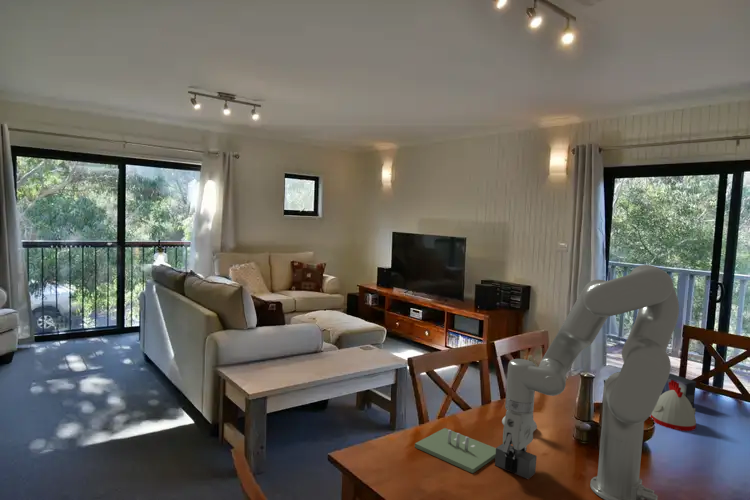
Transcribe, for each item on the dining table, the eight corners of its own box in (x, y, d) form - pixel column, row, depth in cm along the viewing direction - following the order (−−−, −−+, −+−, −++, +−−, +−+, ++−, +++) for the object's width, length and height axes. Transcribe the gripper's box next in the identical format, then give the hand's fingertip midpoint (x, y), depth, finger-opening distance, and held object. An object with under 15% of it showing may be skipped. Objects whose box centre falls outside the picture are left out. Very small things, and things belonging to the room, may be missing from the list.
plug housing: (535, 473, 131) (536, 455, 131) (528, 479, 128) (529, 461, 127) (502, 459, 138) (503, 443, 137) (494, 465, 134) (495, 448, 134)
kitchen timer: (682, 416, 178) (686, 377, 177) (704, 432, 164) (708, 390, 163) (643, 413, 179) (647, 374, 178) (662, 429, 165) (665, 387, 164)
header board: (500, 454, 141) (501, 437, 141) (472, 473, 129) (474, 455, 129) (444, 431, 154) (445, 416, 154) (414, 447, 143) (415, 430, 142)
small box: (658, 399, 195) (660, 374, 194) (668, 397, 198) (670, 373, 197) (684, 409, 185) (686, 383, 185) (694, 407, 188) (697, 381, 187)
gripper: (518, 417, 123) (513, 484, 124) (544, 400, 135) (540, 462, 136) (492, 408, 128) (488, 473, 129) (520, 393, 140) (515, 452, 141)
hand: (514, 467), depth 133 cm, fingers closed on plug housing, 4 cm apart
